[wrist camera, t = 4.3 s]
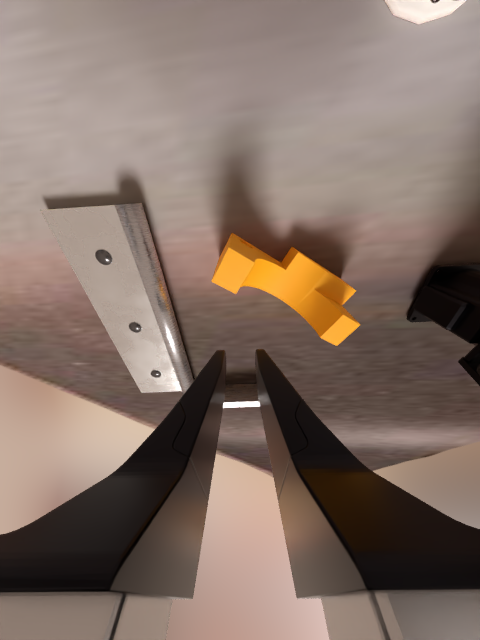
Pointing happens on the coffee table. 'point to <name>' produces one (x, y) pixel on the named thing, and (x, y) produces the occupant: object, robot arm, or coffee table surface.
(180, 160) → the coffee table surface
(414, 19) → the decorative candle
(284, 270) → the pipe clamp
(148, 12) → the coffee table surface
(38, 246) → the coffee table surface
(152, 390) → the hinge bed
